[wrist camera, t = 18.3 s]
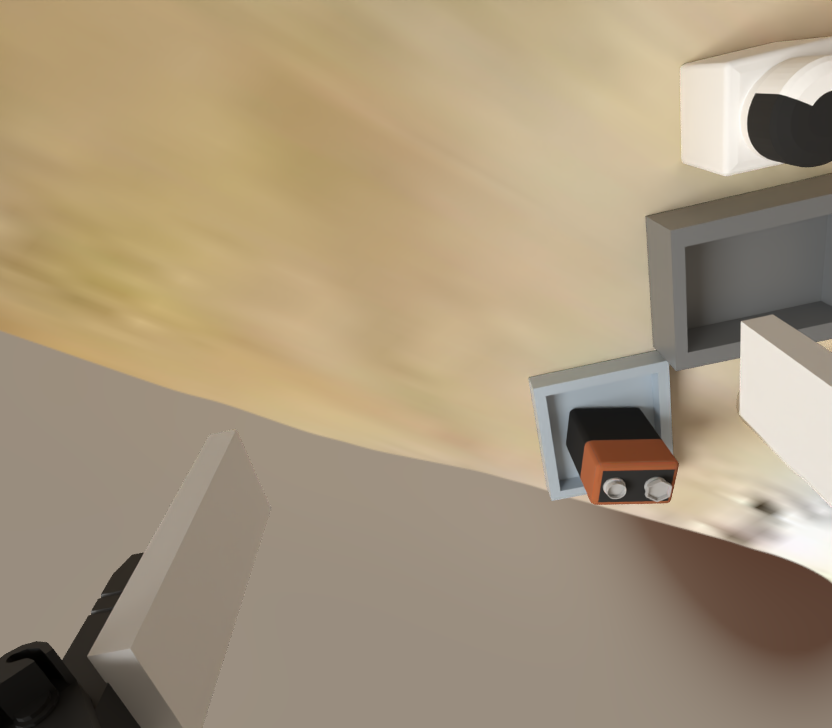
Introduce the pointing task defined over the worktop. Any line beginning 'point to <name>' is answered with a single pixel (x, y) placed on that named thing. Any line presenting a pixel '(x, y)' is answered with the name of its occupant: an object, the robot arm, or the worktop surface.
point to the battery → (620, 456)
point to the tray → (596, 388)
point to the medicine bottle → (758, 107)
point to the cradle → (740, 269)
